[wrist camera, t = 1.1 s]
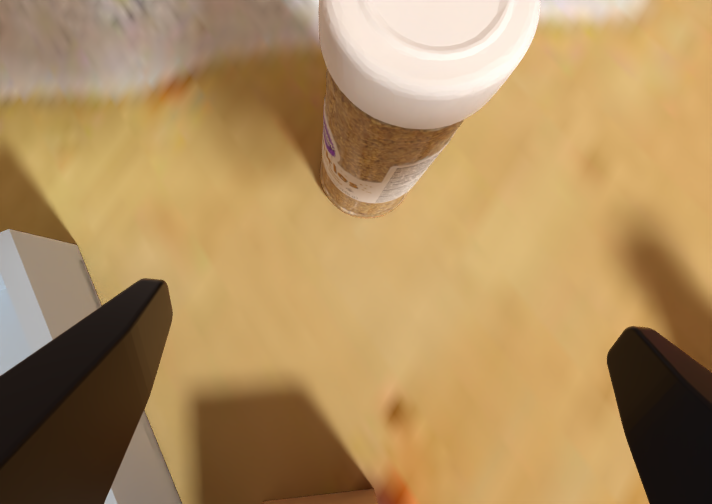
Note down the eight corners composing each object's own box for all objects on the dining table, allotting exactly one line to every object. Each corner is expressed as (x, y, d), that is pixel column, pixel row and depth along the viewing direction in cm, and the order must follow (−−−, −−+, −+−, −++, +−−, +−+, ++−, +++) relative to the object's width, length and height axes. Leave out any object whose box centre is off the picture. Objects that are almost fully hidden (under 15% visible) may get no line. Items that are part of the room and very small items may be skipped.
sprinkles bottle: (303, 156, 22) (275, -74, 8) (383, 116, 22) (476, -159, 9) (347, 237, 21) (392, 132, 8) (428, 195, 22) (592, 31, 9)
